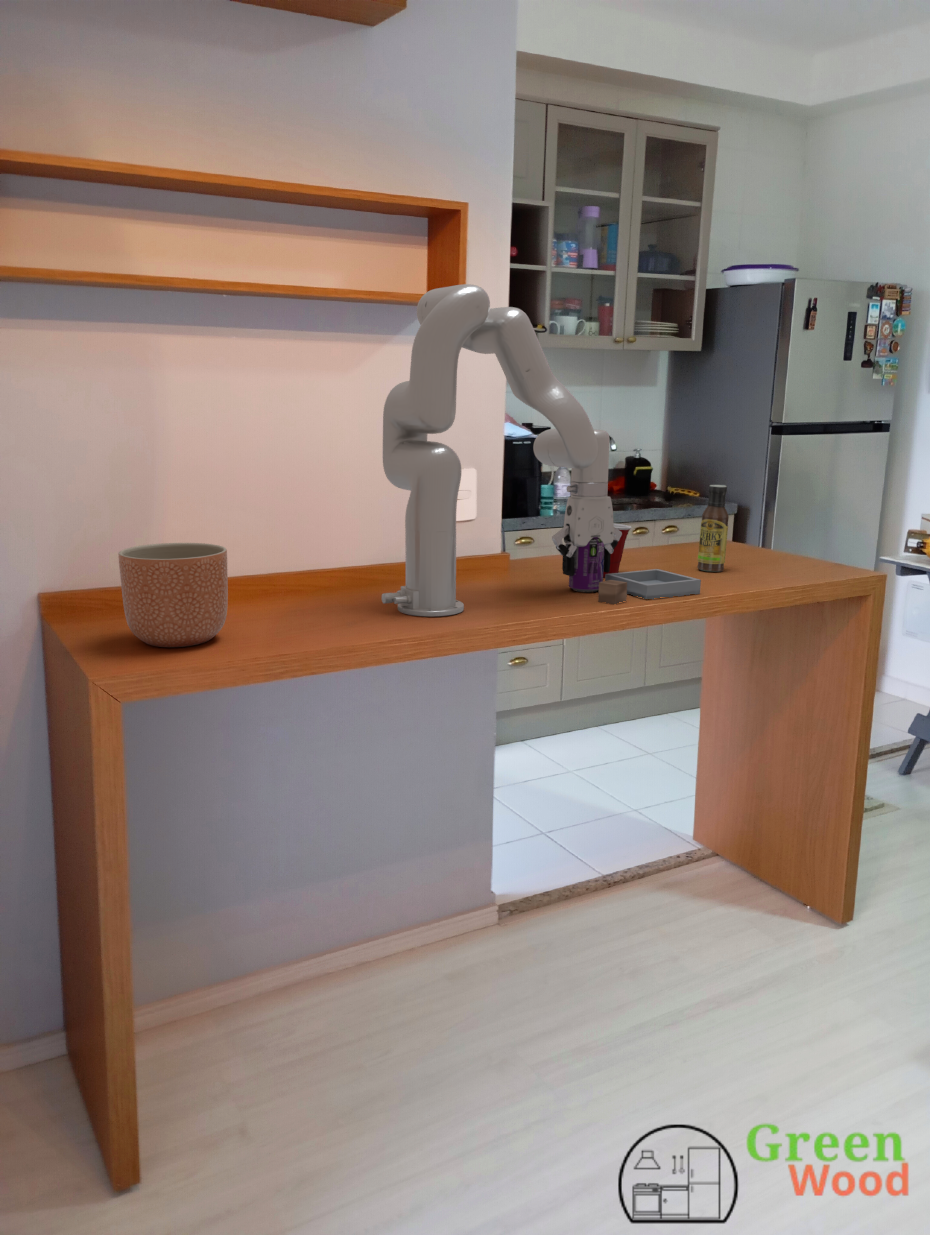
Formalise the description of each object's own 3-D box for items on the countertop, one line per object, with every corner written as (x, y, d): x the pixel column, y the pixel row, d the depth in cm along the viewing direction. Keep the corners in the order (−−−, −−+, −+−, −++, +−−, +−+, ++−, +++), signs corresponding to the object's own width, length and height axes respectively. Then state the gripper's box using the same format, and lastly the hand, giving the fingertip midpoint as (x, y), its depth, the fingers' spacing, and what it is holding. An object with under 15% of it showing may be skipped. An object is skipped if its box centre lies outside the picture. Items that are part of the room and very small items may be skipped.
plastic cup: (638, 578, 226) (641, 524, 223) (596, 581, 222) (598, 527, 219) (614, 569, 236) (616, 518, 233) (573, 572, 232) (575, 520, 229)
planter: (244, 646, 165) (240, 554, 161) (137, 659, 156) (131, 562, 153) (214, 624, 179) (209, 539, 175) (114, 635, 171) (108, 546, 167)
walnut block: (615, 605, 198) (615, 585, 197) (598, 602, 201) (598, 582, 200) (626, 602, 201) (627, 582, 200) (609, 599, 204) (610, 579, 203)
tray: (646, 600, 202) (647, 585, 202) (604, 587, 214) (605, 574, 214) (700, 593, 209) (700, 579, 208) (656, 582, 221) (657, 568, 220)
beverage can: (601, 594, 208) (603, 536, 205) (567, 592, 209) (568, 535, 207) (603, 587, 215) (605, 531, 212) (570, 586, 216) (572, 530, 213)
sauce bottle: (693, 571, 235) (698, 485, 231) (702, 567, 240) (708, 483, 236) (719, 574, 232) (725, 487, 227) (729, 570, 237) (734, 485, 232)
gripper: (564, 494, 200) (561, 579, 204) (634, 490, 208) (630, 572, 212) (543, 490, 206) (541, 573, 210) (612, 487, 215) (609, 567, 219)
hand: (586, 573), depth 211 cm, fingers open, 8 cm apart
